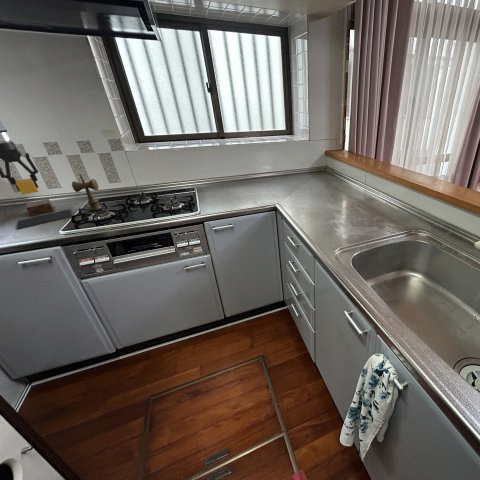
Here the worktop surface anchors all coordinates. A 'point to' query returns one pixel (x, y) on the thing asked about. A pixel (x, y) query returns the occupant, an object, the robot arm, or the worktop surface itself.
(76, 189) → the kendama
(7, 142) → the robot arm
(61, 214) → the rubber mat
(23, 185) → the mustard cube
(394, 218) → the worktop surface
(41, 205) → the walnut block
